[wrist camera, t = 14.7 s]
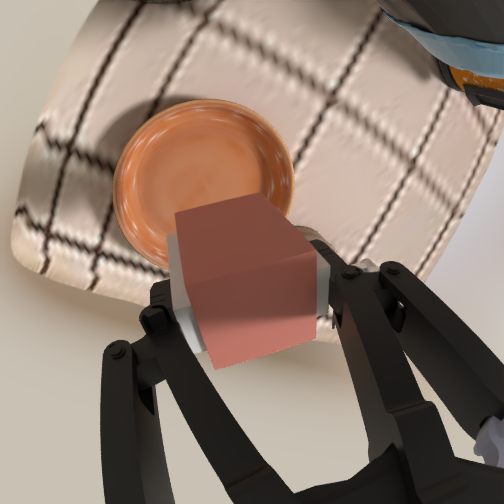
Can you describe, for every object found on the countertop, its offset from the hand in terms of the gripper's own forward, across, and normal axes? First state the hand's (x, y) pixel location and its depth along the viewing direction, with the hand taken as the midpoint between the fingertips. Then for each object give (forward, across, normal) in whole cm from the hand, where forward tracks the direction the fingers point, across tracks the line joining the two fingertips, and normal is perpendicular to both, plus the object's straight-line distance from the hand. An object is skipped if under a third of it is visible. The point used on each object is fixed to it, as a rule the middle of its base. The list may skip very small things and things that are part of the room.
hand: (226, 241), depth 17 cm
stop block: (0, 0, 0) cm, 0 cm away
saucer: (+11, 0, 0) cm, 11 cm away
